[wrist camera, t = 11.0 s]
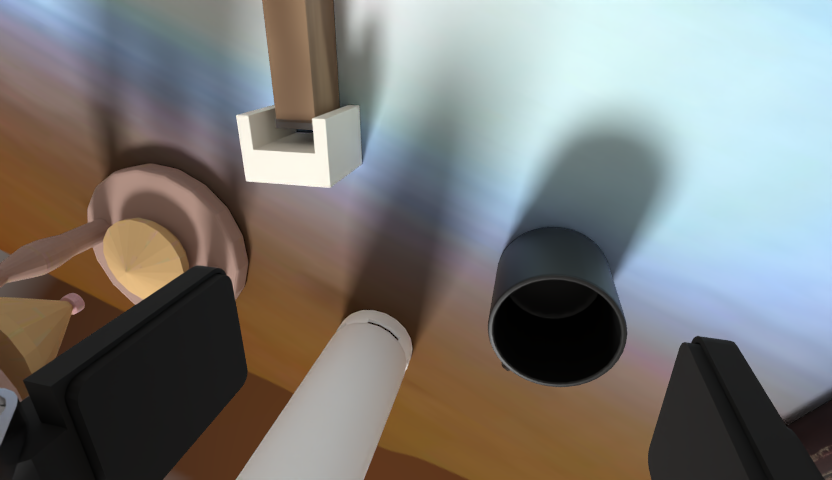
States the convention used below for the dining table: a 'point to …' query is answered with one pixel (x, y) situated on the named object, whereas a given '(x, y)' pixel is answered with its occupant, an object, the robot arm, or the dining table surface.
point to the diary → (817, 437)
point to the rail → (302, 60)
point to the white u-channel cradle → (300, 148)
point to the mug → (556, 309)
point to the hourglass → (118, 257)
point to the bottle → (337, 405)
